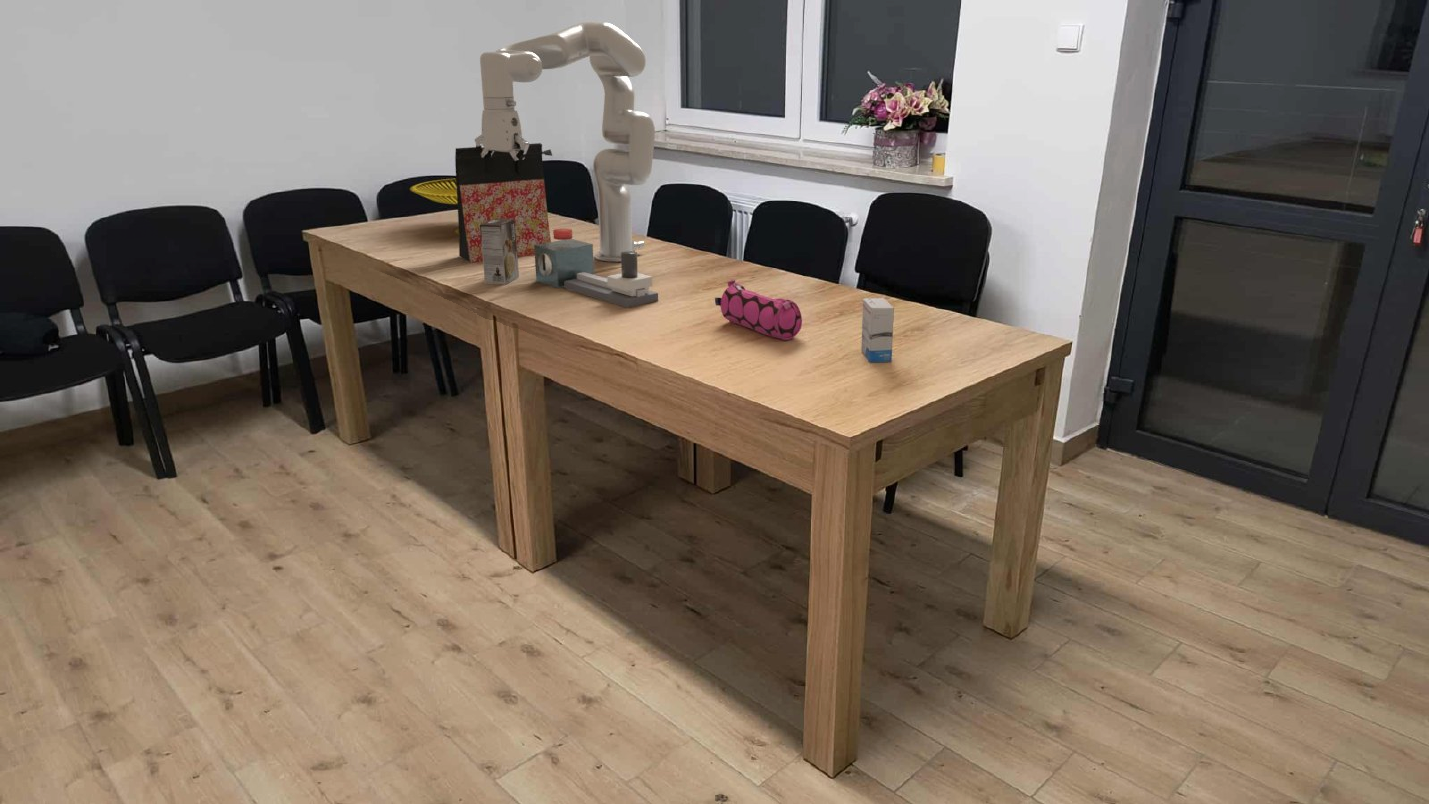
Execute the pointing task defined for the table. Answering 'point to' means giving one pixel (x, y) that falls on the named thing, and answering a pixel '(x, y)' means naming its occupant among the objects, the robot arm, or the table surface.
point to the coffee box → (499, 251)
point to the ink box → (877, 330)
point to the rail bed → (607, 291)
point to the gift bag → (501, 199)
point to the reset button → (562, 234)
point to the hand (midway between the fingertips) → (503, 174)
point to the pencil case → (760, 312)
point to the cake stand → (438, 192)
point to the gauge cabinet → (562, 261)
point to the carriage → (629, 276)
